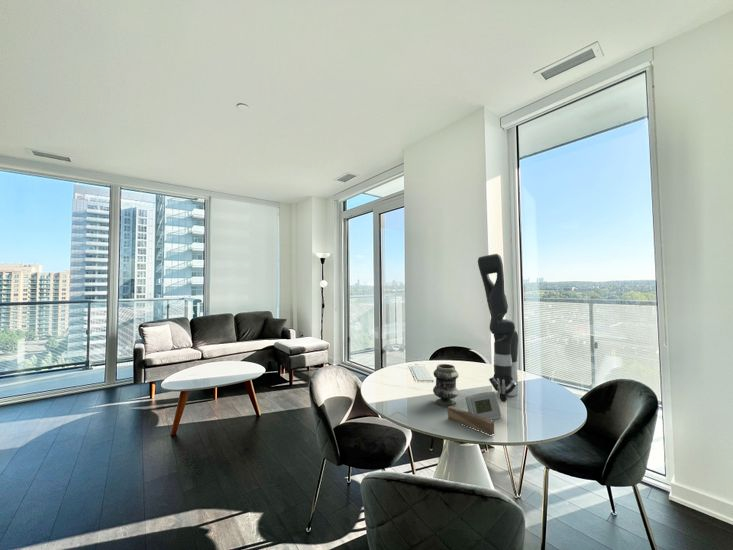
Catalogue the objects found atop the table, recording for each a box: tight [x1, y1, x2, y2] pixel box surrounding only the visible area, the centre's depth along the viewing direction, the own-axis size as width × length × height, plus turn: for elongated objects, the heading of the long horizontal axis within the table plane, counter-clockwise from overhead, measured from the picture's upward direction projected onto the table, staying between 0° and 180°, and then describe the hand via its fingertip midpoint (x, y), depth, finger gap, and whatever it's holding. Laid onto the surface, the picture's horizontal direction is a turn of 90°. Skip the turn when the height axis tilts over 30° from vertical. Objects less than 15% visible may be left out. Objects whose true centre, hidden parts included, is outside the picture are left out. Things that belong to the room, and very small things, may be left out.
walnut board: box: [447, 406, 495, 435], centre depth 134 cm, size 2×20×5 cm, turn 39°
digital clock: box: [465, 391, 502, 421], centre depth 140 cm, size 16×9×11 cm, turn 102°
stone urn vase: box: [432, 363, 460, 408], centre depth 159 cm, size 12×12×18 cm
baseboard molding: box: [408, 363, 435, 382], centre depth 207 cm, size 31×3×12 cm
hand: (503, 401), depth 149 cm, fingers closed
